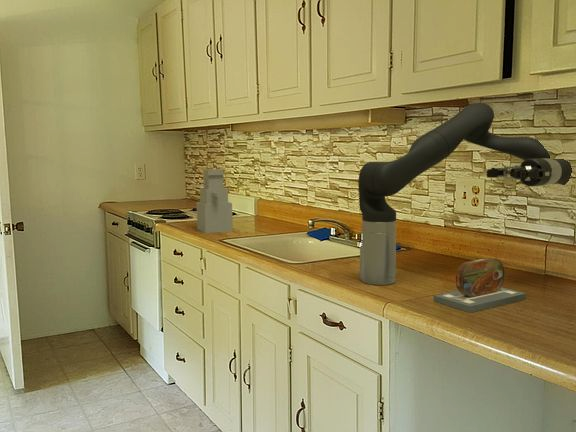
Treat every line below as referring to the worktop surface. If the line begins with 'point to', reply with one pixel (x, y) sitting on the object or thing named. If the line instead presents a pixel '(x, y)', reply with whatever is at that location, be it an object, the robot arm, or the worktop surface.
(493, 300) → the letter board
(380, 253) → the robot arm
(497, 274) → the tin
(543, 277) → the worktop surface
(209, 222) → the stacked tiered boxes
